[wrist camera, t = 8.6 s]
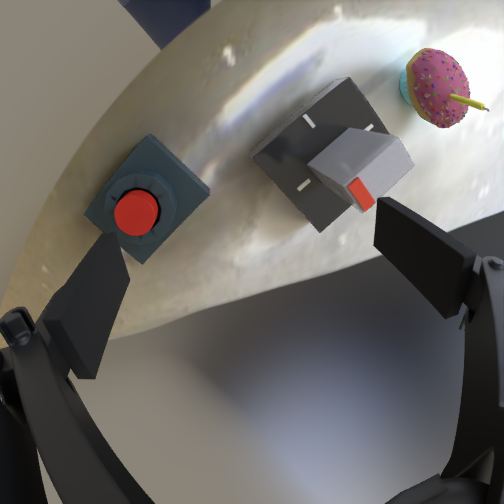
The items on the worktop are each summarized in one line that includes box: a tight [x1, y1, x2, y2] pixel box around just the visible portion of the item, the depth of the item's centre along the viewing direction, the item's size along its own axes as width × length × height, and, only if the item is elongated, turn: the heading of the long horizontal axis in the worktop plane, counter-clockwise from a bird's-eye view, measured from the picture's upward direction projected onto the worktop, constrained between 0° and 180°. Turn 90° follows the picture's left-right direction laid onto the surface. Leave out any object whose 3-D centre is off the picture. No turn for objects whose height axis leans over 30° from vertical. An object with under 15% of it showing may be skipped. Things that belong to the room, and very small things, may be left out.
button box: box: [84, 134, 210, 264], centre depth 26 cm, size 10×8×4 cm
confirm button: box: [114, 190, 158, 236], centre depth 23 cm, size 4×4×2 cm
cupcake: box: [400, 48, 489, 128], centre depth 20 cm, size 9×8×12 cm
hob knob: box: [307, 128, 414, 213], centre depth 21 cm, size 6×3×8 cm, turn 132°
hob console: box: [248, 77, 390, 233], centre depth 26 cm, size 12×10×3 cm
